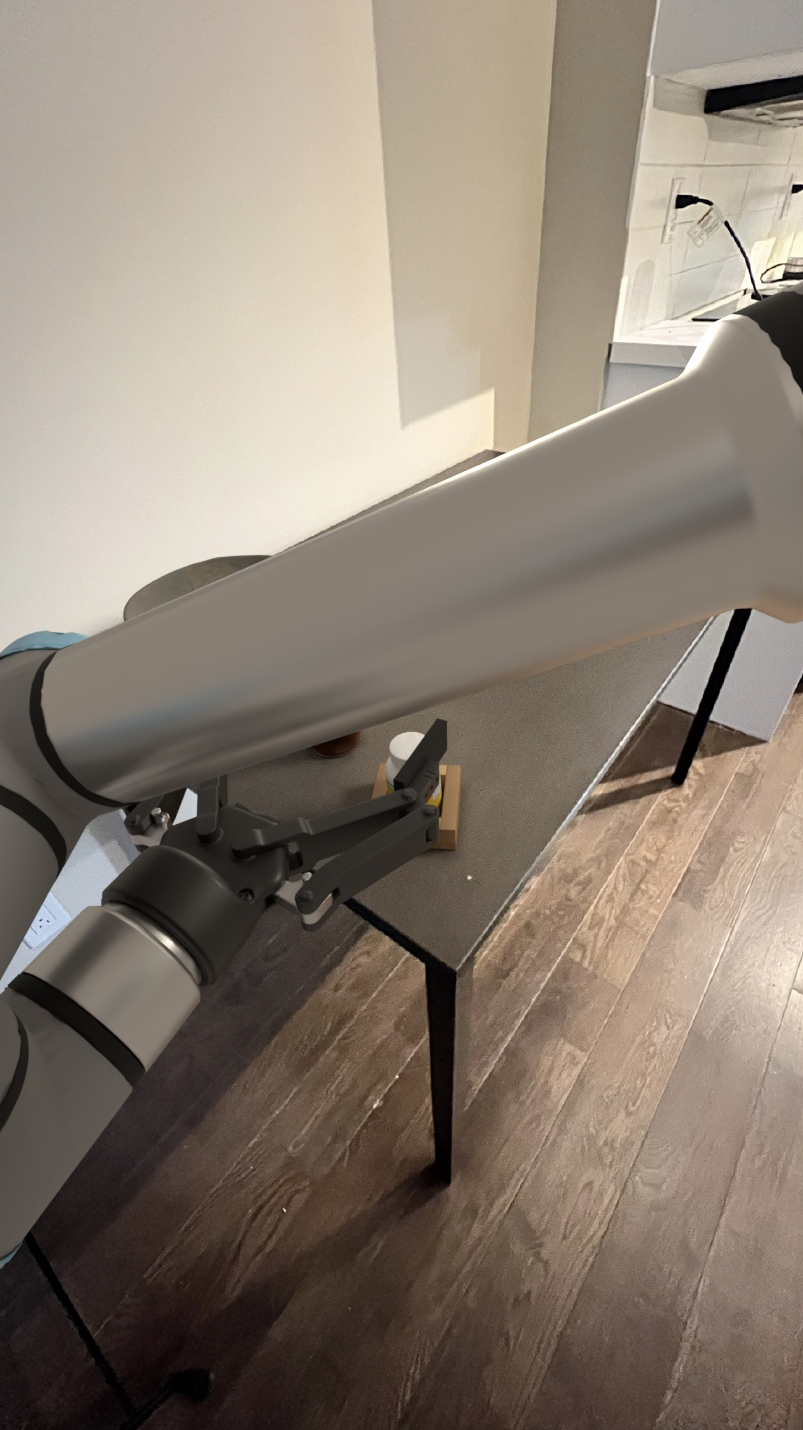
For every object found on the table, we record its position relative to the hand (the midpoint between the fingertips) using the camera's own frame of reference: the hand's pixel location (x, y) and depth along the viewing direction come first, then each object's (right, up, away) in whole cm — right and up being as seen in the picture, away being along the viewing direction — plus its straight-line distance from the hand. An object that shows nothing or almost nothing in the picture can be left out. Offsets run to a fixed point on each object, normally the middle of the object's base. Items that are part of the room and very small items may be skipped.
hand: (359, 708), depth 46 cm
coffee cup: (-5, -4, +29) cm, 30 cm away
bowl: (-21, +9, +47) cm, 52 cm away
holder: (+5, -11, +19) cm, 22 cm away
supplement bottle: (+5, -11, +19) cm, 22 cm away
